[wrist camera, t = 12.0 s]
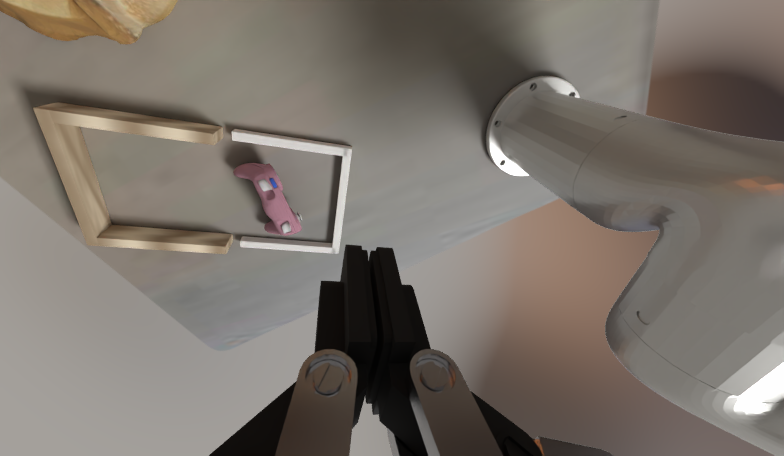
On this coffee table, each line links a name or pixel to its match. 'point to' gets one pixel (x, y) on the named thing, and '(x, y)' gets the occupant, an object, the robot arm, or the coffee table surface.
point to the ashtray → (89, 17)
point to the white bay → (346, 159)
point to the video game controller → (271, 198)
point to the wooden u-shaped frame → (83, 185)
